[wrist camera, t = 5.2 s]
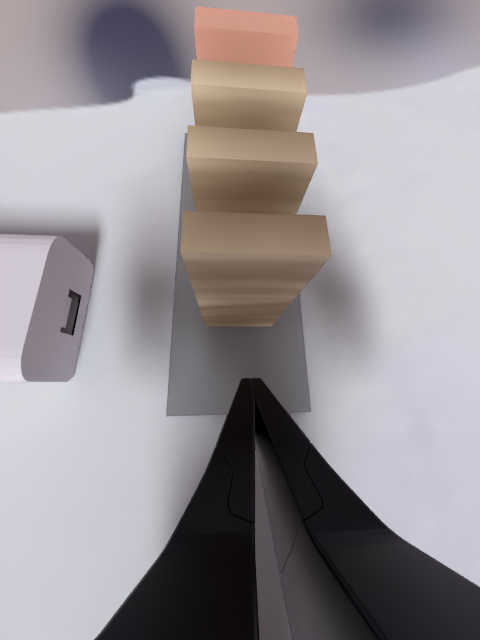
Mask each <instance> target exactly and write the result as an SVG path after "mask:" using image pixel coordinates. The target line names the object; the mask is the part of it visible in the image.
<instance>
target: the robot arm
mask: <svg viewBox="0 0 480 640" xmlns="http://www.w3.org/2000/svg"><path fill="white" fill-rule="evenodd" d="M255 448H256V453H257V458H258V463H259V468H260V474H261V479H262V484H263V489H264V495H265V500H266V505H267V510H268V515H269V521H270V526H271V531H272V536H273V541H274V547H275V552H276V557H277V562H278V567H279V573H280V575H281V577H280V578H281V583H282V588H283V594H284V599H285V604H286V609H287V614H288V620H289V625H290V630H291V635H292V640H480V587H479V586H477V585H476V584H474V583H473V582H471V581H469V580H468V579H466V578H465V577H463V576H461V575H460V574H458V573H456V572H455V571H453V570H452V569H450V568H448V567H447V566H445V565H444V564H442V563H440V562H439V561H437V560H436V559H434V558H432V557H431V556H429V555H428V554H426V553H424V552H423V551H421V550H419V549H418V548H416V547H415V546H413V545H411V544H410V543H408V542H407V541H405V540H404V539H402V538H401V537H400V536H398V535H397V534H396V533H394V532H393V531H392V530H391V529H390V528H388V527H387V526H386V525H385V524H384V523H383V522H382V521H381V520H380V519H379V518H378V517H377V516H376V515H375V514H374V513H373V512H372V511H371V510H370V508H369V507H368V506H367V505H366V504H365V503H364V502H363V501H362V500H361V499H360V498H359V497H358V496H357V495H356V494H355V492H354V491H353V490H352V489H351V488H350V487H349V486H348V485H347V484H346V483H345V482H344V481H343V480H342V479H341V477H340V476H339V475H338V474H337V473H336V472H335V471H334V470H333V469H332V468H331V466H330V465H329V464H328V463H327V462H326V460H325V459H324V458H323V457H322V456H321V454H320V453H319V452H318V451H317V449H316V448H315V447H314V445H313V444H312V443H310V440H309V439H308V438H307V437H306V435H305V434H304V433H303V431H302V430H301V429H300V428H299V426H298V425H297V424H296V422H295V421H294V420H293V419H292V417H291V416H290V415H289V413H288V412H287V411H286V410H285V408H284V407H283V406H282V405H281V403H280V402H279V401H278V399H277V398H276V397H275V396H274V394H273V393H272V392H271V390H270V389H269V388H268V387H267V385H266V384H265V383H264V381H263V380H262V379H261V378H251V379H250V378H241V380H240V383H239V385H238V388H237V390H236V393H235V396H234V398H233V401H232V404H231V406H230V409H229V412H228V414H227V417H226V419H225V422H224V425H223V427H222V430H221V433H220V435H219V438H218V441H217V443H216V447H215V448H214V451H213V453H212V456H211V458H210V461H209V463H208V466H207V468H206V470H205V473H204V475H203V477H202V479H201V481H200V483H199V485H198V487H197V489H196V491H195V493H194V495H193V497H192V498H191V500H190V502H189V504H188V506H187V508H186V510H185V512H184V514H183V516H182V518H181V519H180V521H179V523H178V525H177V527H176V529H175V531H174V532H173V534H172V536H171V538H170V540H169V541H168V543H167V545H166V546H165V548H164V549H163V551H162V553H161V554H160V556H159V557H158V558H157V560H156V561H155V562H154V564H153V565H152V566H151V568H150V569H149V570H148V571H147V573H146V574H145V575H144V577H143V578H142V579H141V581H140V582H139V583H138V584H137V586H136V587H135V588H134V590H133V591H132V592H131V593H130V595H129V596H128V597H127V599H126V600H125V601H124V603H123V604H122V605H121V606H120V608H119V609H118V610H117V612H116V613H115V614H114V616H113V617H112V618H111V619H110V621H109V622H108V623H107V625H106V626H105V627H104V629H103V630H102V631H101V632H100V634H99V635H98V636H97V637H96V638H95V639H94V640H259V623H258V603H257V582H256V562H255Z"/></svg>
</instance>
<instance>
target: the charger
mask: <svg viewBox="0 0 480 640" xmlns="http://www.w3.org/2000/svg"><path fill="white" fill-rule="evenodd" d="M93 275H94V267H93V264H92V262H91V261H90V260H89V259H88V258H87V257H86V256H84V255H83V254H82V253H81V252H80V251H79V250H78V249H77V248H76V247H74V246H73V245H72V244H71V243H70V242H69V241H68V240H67V239H66V238H64V237H63V236H56V235H29V234H2V233H0V382H67V381H69V380H70V379H71V378H72V377H73V375H74V373H75V368H76V363H77V358H78V353H79V348H80V343H81V338H82V332H83V327H84V322H85V317H86V312H87V306H88V301H89V296H90V291H91V286H92V280H93ZM80 295H81V301H80V306H79V311H78V316H77V320H76V325H75V330H74V335H73V336H72V335H71V334H72V330H73V325H74V320H75V315H76V310H77V305H78V300H79V296H80Z"/></svg>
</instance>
